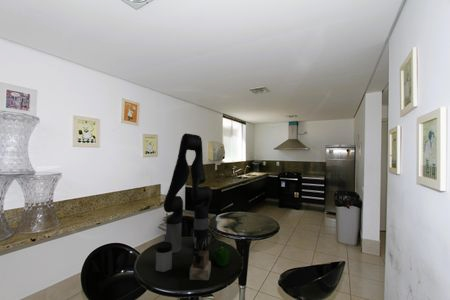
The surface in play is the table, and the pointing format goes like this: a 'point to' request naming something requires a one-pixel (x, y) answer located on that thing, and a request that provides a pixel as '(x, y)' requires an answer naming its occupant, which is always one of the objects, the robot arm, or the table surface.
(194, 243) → the food container
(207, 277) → the maple base
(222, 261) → the bell pepper
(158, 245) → the jar
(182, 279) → the table surface
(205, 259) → the walnut cube
